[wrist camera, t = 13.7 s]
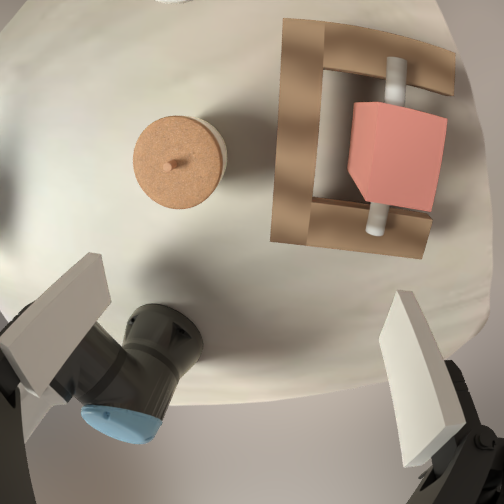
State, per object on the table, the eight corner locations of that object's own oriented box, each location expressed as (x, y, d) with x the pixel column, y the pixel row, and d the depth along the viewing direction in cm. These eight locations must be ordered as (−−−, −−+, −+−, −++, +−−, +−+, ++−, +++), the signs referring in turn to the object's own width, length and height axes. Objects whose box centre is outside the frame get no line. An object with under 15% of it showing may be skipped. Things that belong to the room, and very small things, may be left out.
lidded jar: (246, 179, 39) (230, 202, 31) (175, 198, 42) (144, 224, 34) (222, 101, 34) (198, 102, 26) (150, 128, 37) (112, 138, 29)
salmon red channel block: (394, 177, 32) (431, 211, 22) (347, 169, 33) (365, 201, 23) (403, 112, 29) (447, 118, 18) (353, 102, 29) (378, 101, 19)
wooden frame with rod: (403, 231, 38) (426, 268, 30) (276, 215, 40) (267, 249, 32) (427, 60, 27) (463, 51, 18) (287, 35, 29) (281, 12, 20)
